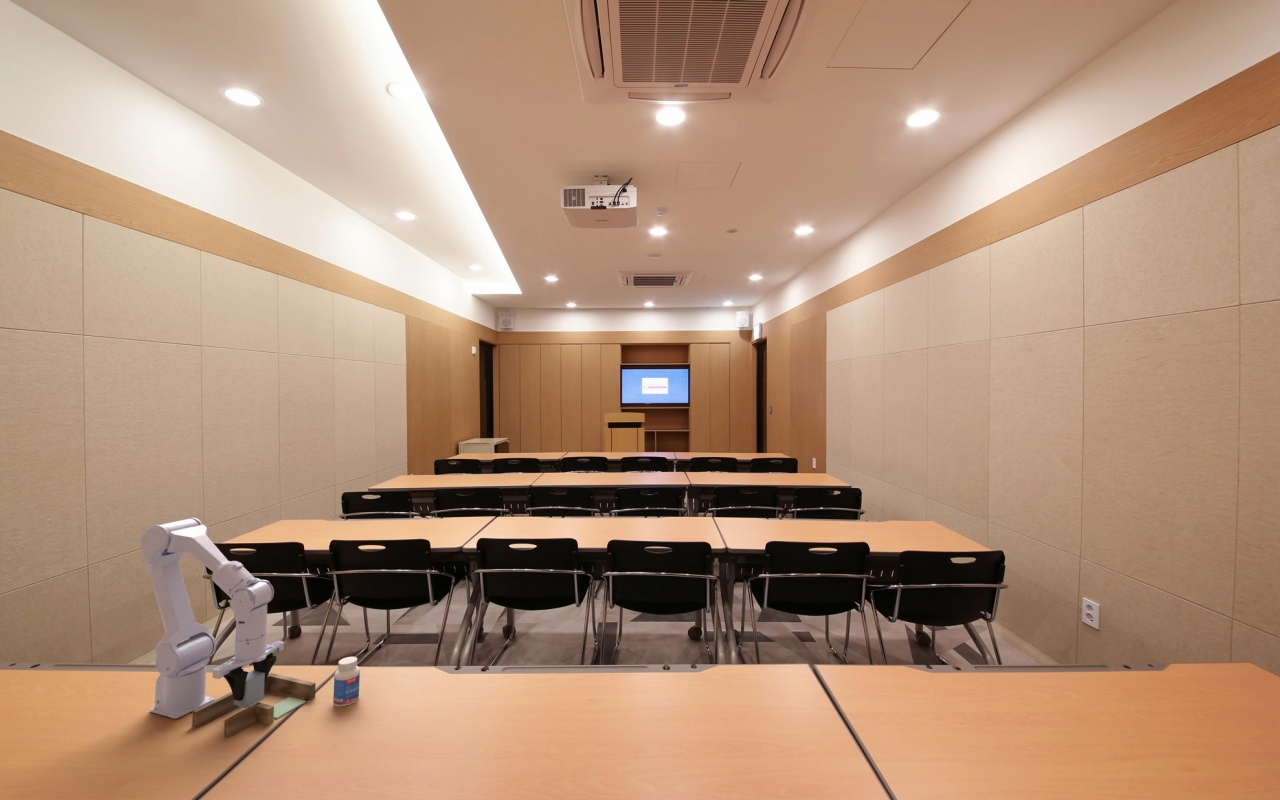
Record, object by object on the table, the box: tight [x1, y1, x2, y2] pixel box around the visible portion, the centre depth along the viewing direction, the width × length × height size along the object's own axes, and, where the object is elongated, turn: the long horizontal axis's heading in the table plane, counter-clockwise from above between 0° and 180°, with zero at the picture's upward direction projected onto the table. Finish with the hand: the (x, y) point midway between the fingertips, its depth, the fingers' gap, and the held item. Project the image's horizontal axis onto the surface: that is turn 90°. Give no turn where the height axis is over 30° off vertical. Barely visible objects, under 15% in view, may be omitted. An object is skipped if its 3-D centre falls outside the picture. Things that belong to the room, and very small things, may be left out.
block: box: [234, 669, 265, 709], centre depth 116 cm, size 4×4×6 cm
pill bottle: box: [332, 656, 361, 708], centre depth 120 cm, size 6×5×10 cm
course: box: [191, 672, 317, 738], centre depth 116 cm, size 15×17×4 cm
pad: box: [273, 696, 307, 720], centre depth 117 cm, size 6×7×1 cm
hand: (249, 694), depth 116 cm, fingers closed on block, 4 cm apart
